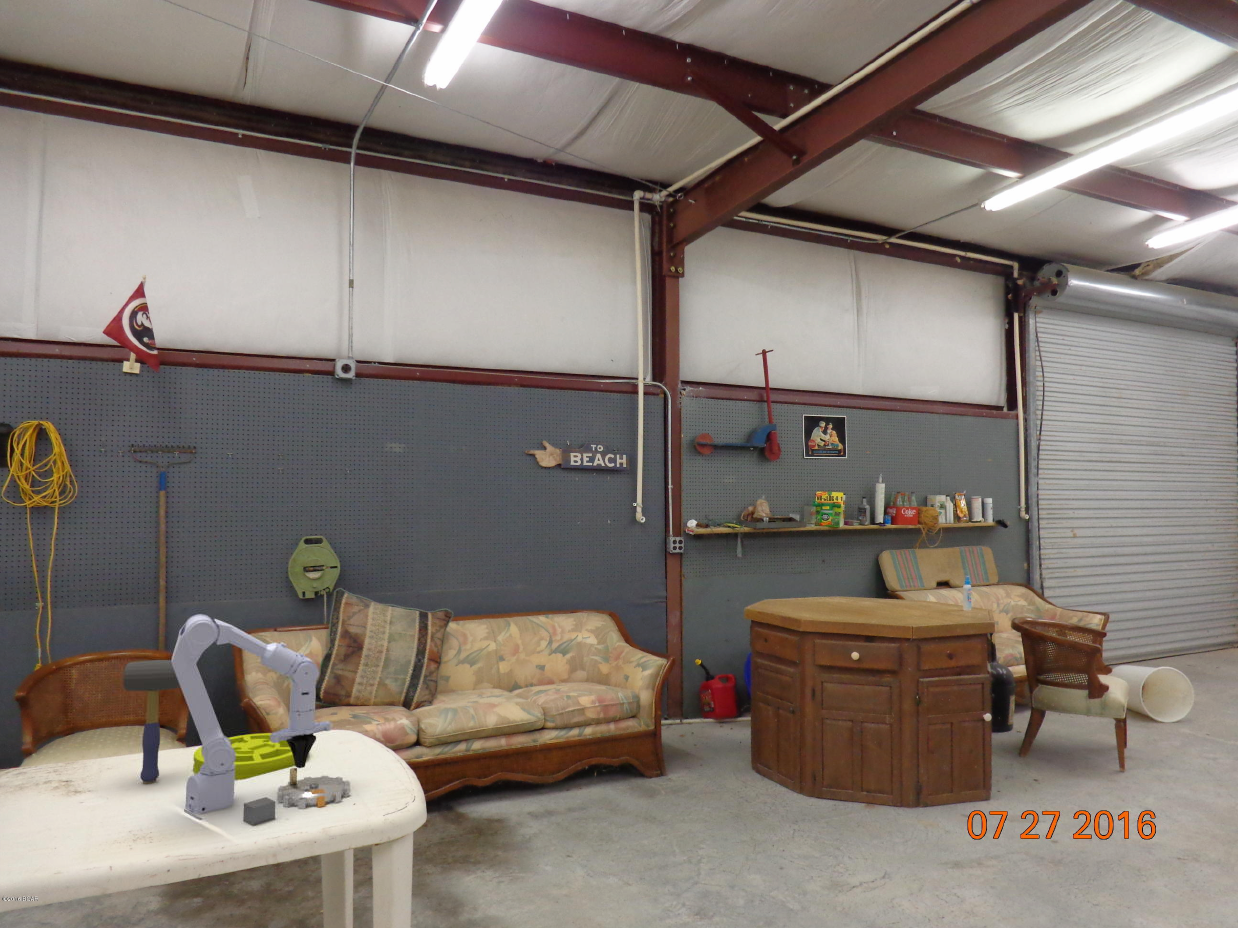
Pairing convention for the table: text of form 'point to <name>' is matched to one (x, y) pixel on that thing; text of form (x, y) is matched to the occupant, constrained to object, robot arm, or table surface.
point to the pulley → (254, 755)
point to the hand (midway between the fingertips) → (300, 766)
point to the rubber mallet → (150, 705)
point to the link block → (259, 811)
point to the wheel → (312, 791)
